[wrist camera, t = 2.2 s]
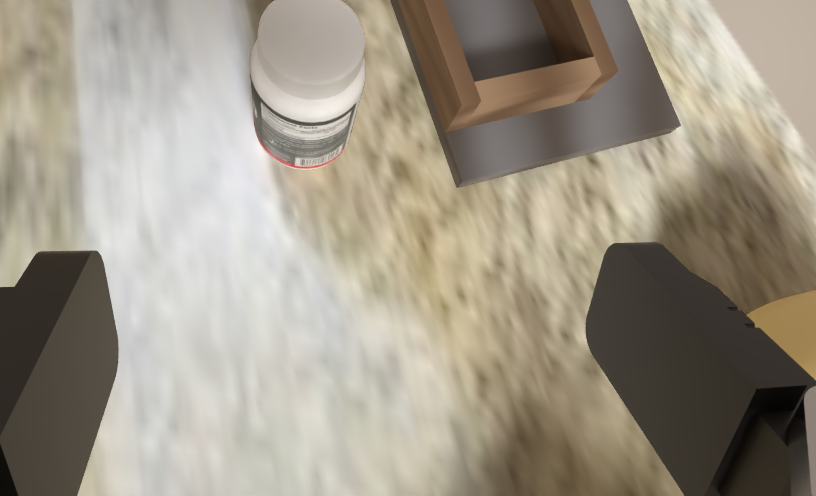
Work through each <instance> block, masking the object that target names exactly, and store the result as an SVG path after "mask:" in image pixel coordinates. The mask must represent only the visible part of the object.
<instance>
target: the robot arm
mask: <svg viewBox="0 0 816 496" xmlns="http://www.w3.org/2000/svg"><path fill="white" fill-rule="evenodd" d="M586 338H587V343H588V346H589V349H590V351H591V353H592V355H593V356H594V358H595V359H596V361H597V362H598V364H599V365H600V367H601V369H602V370H603V372H604V373H605V375H606V376H607V378H608V379H609V381H610V382H611V384H612V385H613V387H614V388H615V390H616V391H617V393H618V395H619V396H620V398H621V399H622V401H623V402H624V404H625V405H626V407H627V408H628V410H629V411H630V413H631V414H632V416H633V417H634V419H635V420H636V422H637V424H638V425H639V427H640V428H641V430H642V431H643V433H644V434H645V436H646V437H647V439H648V440H649V442H650V443H651V445H652V446H653V448H654V449H655V451H656V453H657V454H658V456H659V457H660V459H661V460H662V462H663V463H664V465H665V466H666V468H667V469H668V471H669V472H670V474H671V475H672V477H673V479H674V480H675V482H676V483H677V485H678V486H679V488H680V489H681V491H682V492H683V494H684V495H685V496H816V380H815V379H814V378H813V377H812V376H811V375H809V374H808V373H807V372H806V371H805V370H804V369H803V368H802V367H801V366H800V365H799V364H798V363H797V362H796V361H795V360H794V359H792V358H791V357H790V356H789V355H788V354H787V353H786V352H785V351H784V350H783V349H782V348H781V347H780V346H779V345H778V344H777V343H775V342H774V341H773V340H772V339H771V338H770V337H769V336H768V335H767V334H766V333H765V332H764V331H763V330H762V329H761V328H755V323H754V322H753V321H752V320H751V319H750V318H749V317H748V316H747V315H746V314H745V313H744V312H742V311H738V310H737V306H736V305H735V304H734V303H733V302H732V301H731V300H730V299H729V298H728V297H727V296H725V295H724V294H723V293H722V292H721V291H720V290H719V289H718V288H717V287H716V286H714V285H712V284H710V283H709V282H707V281H705V280H703V279H702V278H700V277H698V276H697V275H695V274H693V273H691V272H690V271H689V270H688V269H687V268H686V267H684V266H683V265H682V264H681V263H680V262H679V261H678V260H677V259H676V258H675V257H674V256H673V255H672V254H671V253H670V252H669V251H668V250H667V249H666V248H665V247H664V246H662V245H661V244H659V243H655V242H650V243H614V244H612V245H611V246H610V247H609V248H608V249H607V251H606V253H605V255H604V258H603V261H602V265H601V268H600V272H599V275H598V279H597V283H596V286H595V290H594V293H593V297H592V300H591V304H590V307H589V311H588V314H587V318H586ZM117 366H118V337H117V331H116V325H115V320H114V315H113V310H112V304H111V299H110V294H109V289H108V283H107V278H106V273H105V268H104V263H103V260H102V257H101V255H100V254H99V252H98V251H42V252H38V253H37V254H36V255H35V256H34V258H33V259H32V261H31V262H30V264H29V265H28V267H27V268H26V270H25V272H24V273H23V275H22V276H21V278H20V279H19V281H18V283H17V284H16V286H15V287H0V496H77V494H78V491H79V488H80V485H81V482H82V479H83V476H84V473H85V470H86V467H87V463H88V460H89V457H90V454H91V451H92V448H93V445H94V442H95V439H96V436H97V433H98V430H99V427H100V423H101V420H102V417H103V414H104V411H105V408H106V405H107V402H108V399H109V396H110V393H111V390H112V387H113V383H114V380H115V377H116V372H117Z"/></svg>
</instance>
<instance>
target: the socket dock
mask: <svg viewBox="0 0 816 496" xmlns="http://www.w3.org/2000/svg"><path fill="white" fill-rule="evenodd" d="M391 3H392V5H393V8H394V11H395V14H396V17H397V20H398V22H399V25H400V28H401V31H402V34H403V37H404V39H405V42H406V45H407V48H408V51H409V53H410V56H411V59H412V62H413V65H414V68H415V70H416V73H417V76H418V79H419V82H420V85H421V87H422V90H423V93H424V96H425V99H426V102H427V104H428V107H429V110H430V113H431V116H432V119H433V121H434V124H435V127H436V130H437V133H438V136H439V138H440V141H441V144H442V147H443V150H444V153H445V155H446V158H447V161H448V164H449V167H450V170H451V172H452V175H453V178H454V181H455V184H456V187H457V188H459V187H463V186H467V185H471V184H475V183H478V182H482V181H486V180H490V179H494V178H498V177H502V176H505V175H509V174H513V173H517V172H521V171H525V170H529V169H532V168H536V167H540V166H544V165H548V164H552V163H556V162H559V161H563V160H567V159H571V158H575V157H579V156H583V155H586V154H590V153H594V152H598V151H602V150H606V149H610V148H613V147H617V146H621V145H625V144H629V143H633V142H637V141H640V140H644V139H648V138H652V137H656V136H660V135H664V134H667V133H671V132H672V131H673V130H675V129H676V128H678V127H679V126H681V124H680V122H679V120H678V117H677V115H676V113H675V110H674V108H673V106H672V103H671V101H670V99H669V96H668V94H667V92H666V89H665V87H664V85H663V82H662V80H661V78H660V75H659V73H658V71H657V68H656V66H655V64H654V61H653V59H652V57H651V54H650V52H649V50H648V47H647V45H646V43H645V40H644V38H643V36H642V33H641V31H640V29H639V26H638V24H637V22H636V19H635V17H634V15H633V12H632V10H631V8H630V5H629V3H628V1H627V0H391Z"/></svg>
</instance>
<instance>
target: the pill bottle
mask: <svg viewBox="0 0 816 496" xmlns="http://www.w3.org/2000/svg"><path fill="white" fill-rule="evenodd" d="M364 49H365V35H364V30H363V27H362V24H361V22H360V20H359V18H358V17H357V15H356V14H355V12H354V11H353V10H352V9H351V8H350V7H349V6H348V5H347V4H346V3H344V2H343V1H342V0H274V1H273V2H271V3H270V4H269V5H268V7H267V8H266V9H265V11H264V12H263V14H262V16H261V19H260V22H259V26H258V38H257V39H256V41H255V43H254V46H253V48H252V51H251V56H250V79H251V88H252V100H253V113H254V126H255V131H256V135H257V138H258V140H259V142H260V144H261V146H262V147H263V149H264V150H265V151H266V152H267V153H268V154H269V155H270V156H271V157H272V158H273V159H274V160H276V161H277V162H279V163H281V164H282V165H285V166H287V167H290V168H293V169H299V170H311V169H317V168H321V167H324V166H326V165H328V164H330V163H331V162H333V161H334V160H335V159H336V158H338V157H339V156H340V154H341V153H342V152H343V151H344V149H345V147H346V146H347V144H348V141H349V138H350V134H351V132H352V127H353V123H354V120H355V116H356V112H357V109H358V105H359V101H360V98H361V95H362V91H363V88H364V83H365V74H366V69H365V61H364V57H363V55H364Z"/></svg>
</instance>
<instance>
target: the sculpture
mask: <svg viewBox="0 0 816 496" xmlns="http://www.w3.org/2000/svg"><path fill="white" fill-rule="evenodd" d="M747 316H748V317H749V318H750V319H751V320H752V321H753V322H754V323H755V328H761V329H762V330H763V331H764V332H765V333H766V334H767V335H768V336H769V337H770V338H771V339H772V340H773V341H774V342H775V343H777V344H778V345H779V346H780V347H781V348H782V349H783V350H784V351H785V352H786V353H787V354H788V355H789V356H790V357H791V358H792V359H794V360H795V361H796V362H797V363H798V364H799V365H800V366H801V367H802V368H803V369H804V370H805V371H806V372H807V373H808V374H809V375H811V376H812V377H813V378H814V379H815V380H816V290H813V291H809V292H805V293H801V294H797V295H793V296H789V297H785V298H782V299H779V300H776V301H773V302H771V303H768V304H766V305H764V306H761V307H759V308H757V309H755V310H754V311H752V312H750V313H748V314H747Z"/></svg>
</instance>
